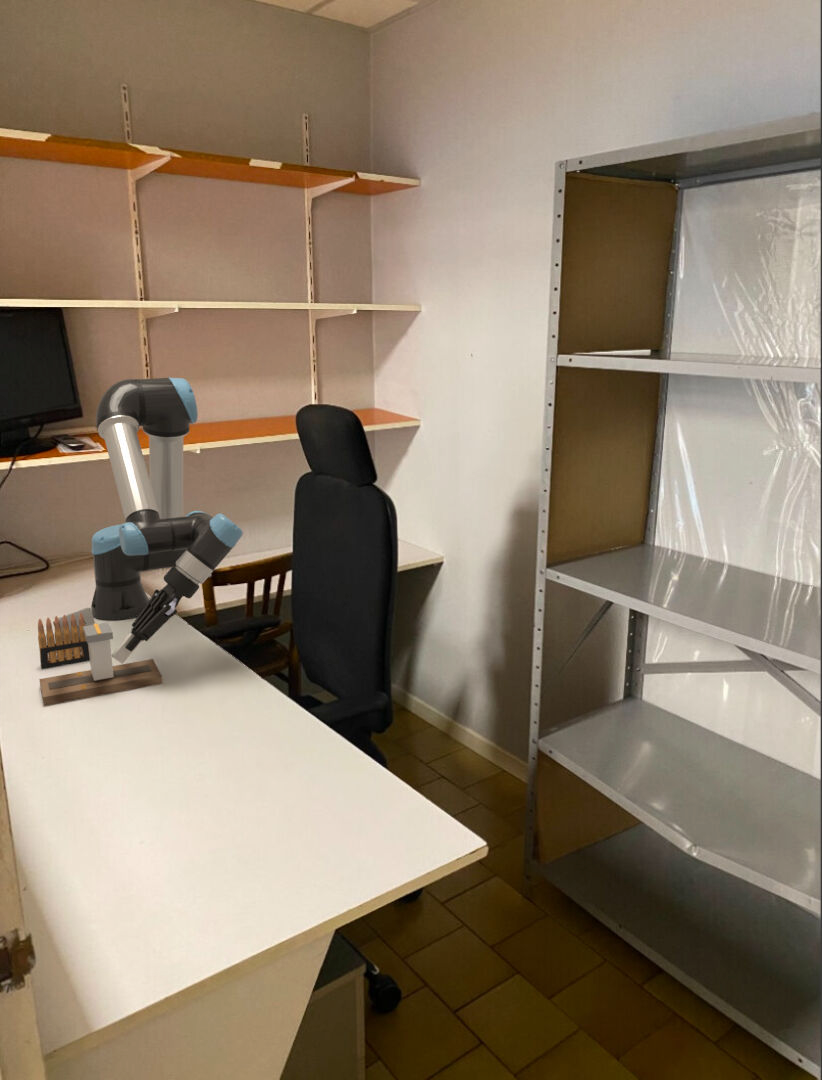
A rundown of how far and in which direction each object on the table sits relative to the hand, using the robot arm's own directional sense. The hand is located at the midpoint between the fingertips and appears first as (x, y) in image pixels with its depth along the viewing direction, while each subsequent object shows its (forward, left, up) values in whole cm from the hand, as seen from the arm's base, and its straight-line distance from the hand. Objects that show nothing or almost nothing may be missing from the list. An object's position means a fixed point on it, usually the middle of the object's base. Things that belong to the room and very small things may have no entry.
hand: (117, 659), depth 180 cm
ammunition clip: (-7, -18, -6) cm, 21 cm away
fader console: (+2, -3, -6) cm, 7 cm away
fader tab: (+1, -3, -3) cm, 5 cm away
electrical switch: (-16, -21, -6) cm, 27 cm away
